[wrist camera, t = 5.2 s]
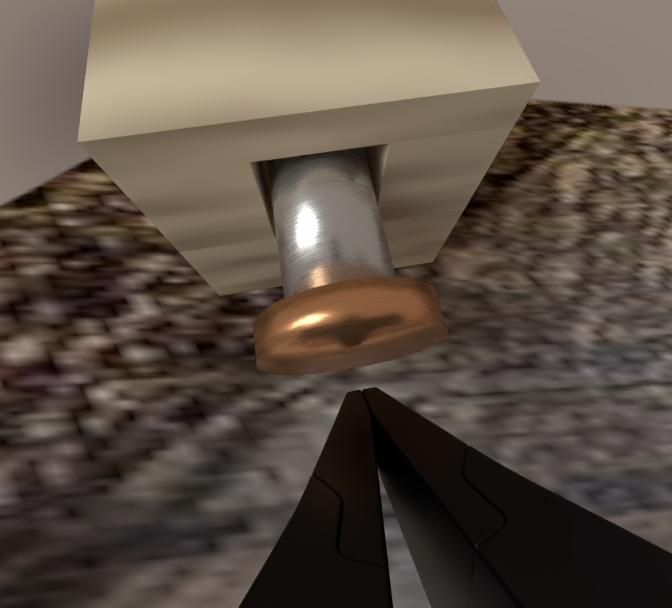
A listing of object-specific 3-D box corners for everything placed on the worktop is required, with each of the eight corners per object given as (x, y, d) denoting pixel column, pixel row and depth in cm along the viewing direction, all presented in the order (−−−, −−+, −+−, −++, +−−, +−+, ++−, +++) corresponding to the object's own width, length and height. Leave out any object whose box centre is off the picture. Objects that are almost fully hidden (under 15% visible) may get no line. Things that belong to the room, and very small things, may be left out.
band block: (432, 262, 19) (540, 81, 9) (220, 295, 18) (77, 142, 8) (399, 152, 21) (453, -81, 11) (213, 178, 21) (100, -44, 11)
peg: (421, 356, 13) (481, 309, 7) (275, 381, 12) (229, 351, 7) (372, 167, 16) (389, 38, 10) (254, 183, 15) (211, 59, 10)
